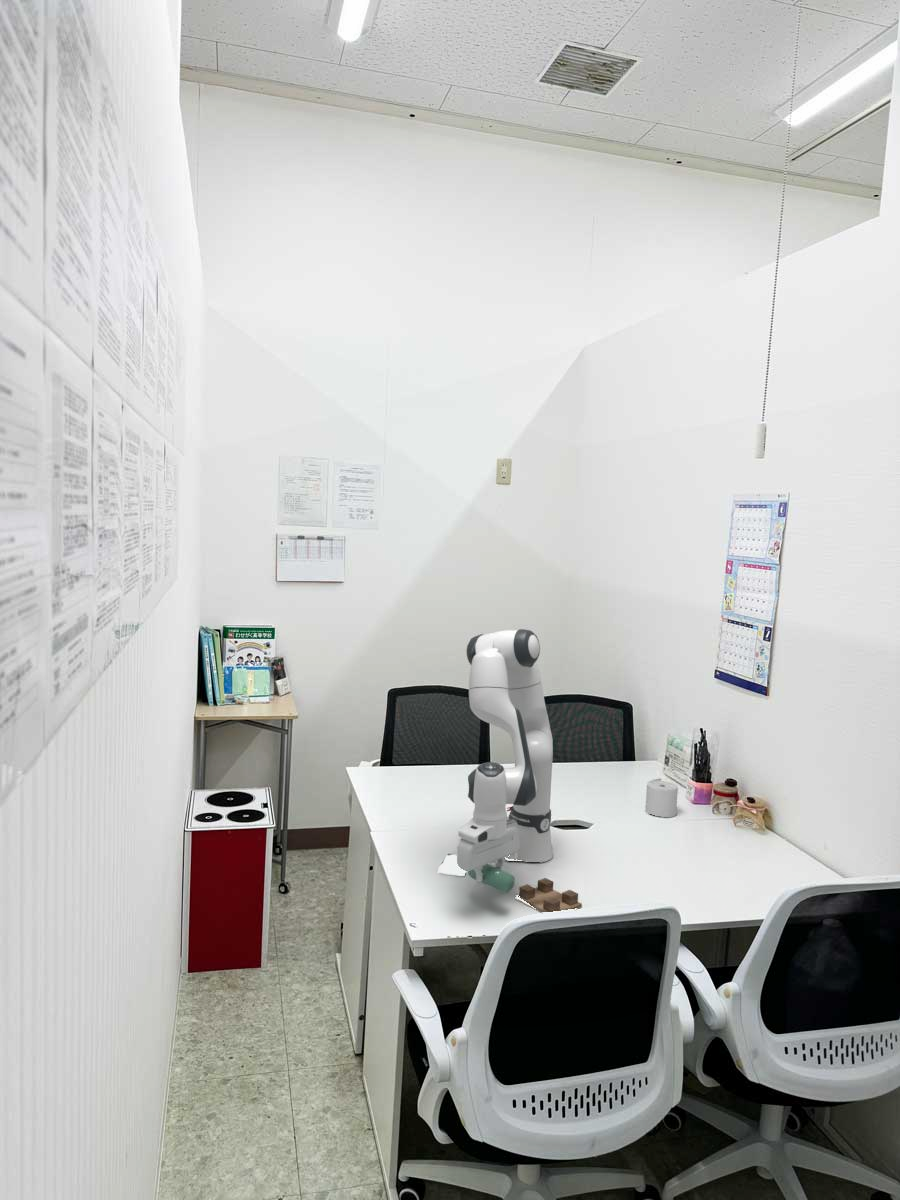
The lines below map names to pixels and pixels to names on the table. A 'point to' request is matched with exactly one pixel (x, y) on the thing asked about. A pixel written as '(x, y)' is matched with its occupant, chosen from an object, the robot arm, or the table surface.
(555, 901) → the cradle
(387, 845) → the table surface
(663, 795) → the toilet tissue
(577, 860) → the table surface
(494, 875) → the bottle
